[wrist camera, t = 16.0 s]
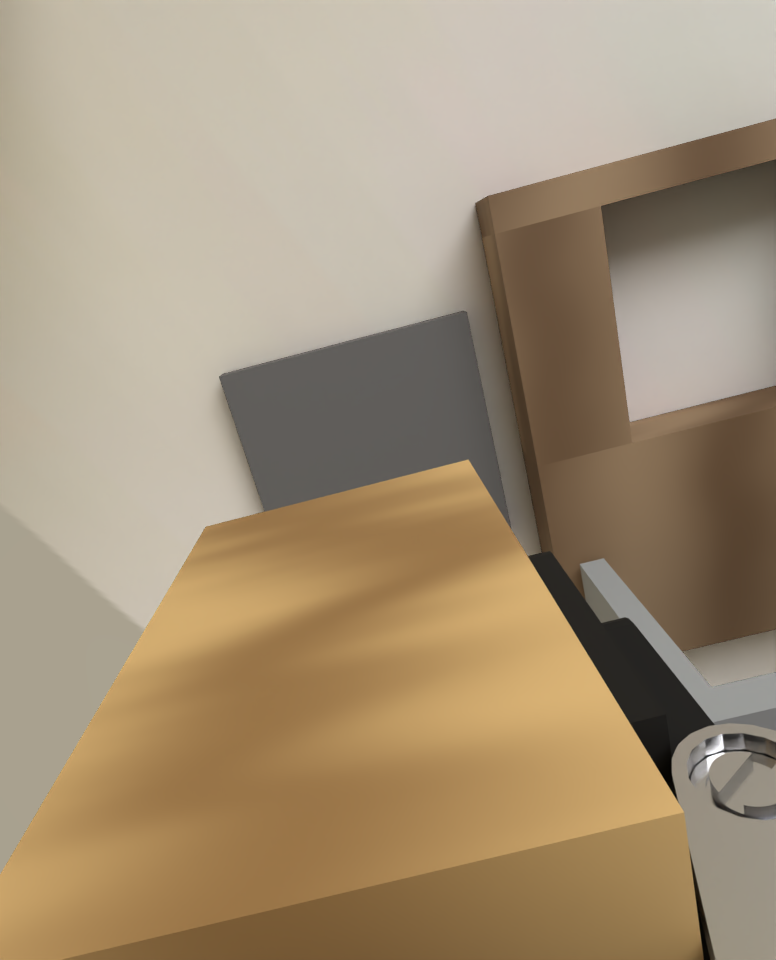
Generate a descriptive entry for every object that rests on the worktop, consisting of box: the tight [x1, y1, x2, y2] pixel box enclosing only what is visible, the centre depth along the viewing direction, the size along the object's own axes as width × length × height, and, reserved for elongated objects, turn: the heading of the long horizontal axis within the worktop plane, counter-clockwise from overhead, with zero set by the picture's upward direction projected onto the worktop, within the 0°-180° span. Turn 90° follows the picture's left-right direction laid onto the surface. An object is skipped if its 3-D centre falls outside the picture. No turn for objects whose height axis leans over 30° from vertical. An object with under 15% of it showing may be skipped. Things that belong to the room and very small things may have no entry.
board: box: [475, 119, 776, 651], centre depth 21 cm, size 13×16×2 cm
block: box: [0, 460, 704, 960], centre depth 9 cm, size 5×5×8 cm
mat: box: [219, 311, 511, 528], centre depth 21 cm, size 8×8×1 cm
